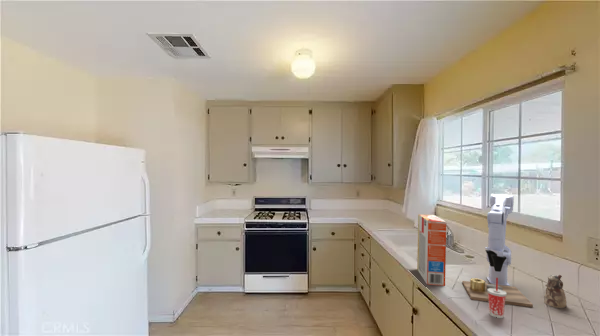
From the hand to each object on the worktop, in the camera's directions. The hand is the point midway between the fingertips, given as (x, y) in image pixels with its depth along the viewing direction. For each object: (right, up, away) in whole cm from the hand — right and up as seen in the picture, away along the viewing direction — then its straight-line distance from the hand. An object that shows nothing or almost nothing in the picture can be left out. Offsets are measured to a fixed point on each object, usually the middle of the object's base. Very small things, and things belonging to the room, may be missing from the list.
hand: (495, 268), depth 140 cm
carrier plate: (-2, -10, -2) cm, 11 cm away
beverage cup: (-14, -10, -23) cm, 28 cm away
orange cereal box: (-21, -10, +19) cm, 30 cm away
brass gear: (-8, -9, 0) cm, 12 cm away
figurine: (+17, -11, -12) cm, 23 cm away
